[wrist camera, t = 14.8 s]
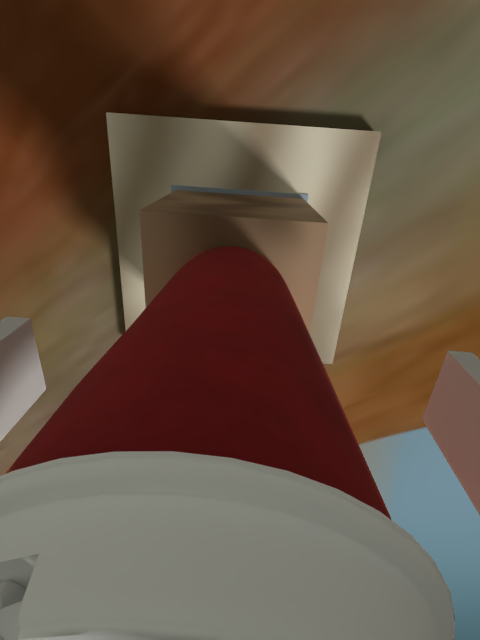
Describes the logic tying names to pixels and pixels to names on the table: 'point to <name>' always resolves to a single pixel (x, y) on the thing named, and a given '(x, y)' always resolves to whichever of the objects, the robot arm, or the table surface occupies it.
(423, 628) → the paper cup
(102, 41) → the table surface
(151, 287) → the walnut block
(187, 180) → the blueprint plate
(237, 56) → the table surface
